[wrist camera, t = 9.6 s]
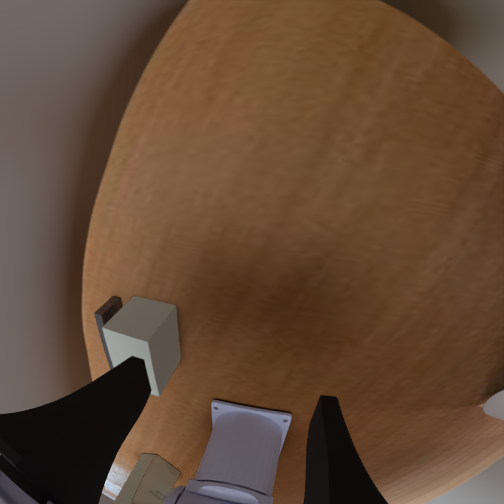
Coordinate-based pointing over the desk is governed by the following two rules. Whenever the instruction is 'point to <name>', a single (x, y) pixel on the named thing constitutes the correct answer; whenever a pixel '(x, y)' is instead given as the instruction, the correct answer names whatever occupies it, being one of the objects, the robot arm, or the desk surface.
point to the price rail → (104, 316)
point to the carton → (146, 338)
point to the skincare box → (148, 481)
